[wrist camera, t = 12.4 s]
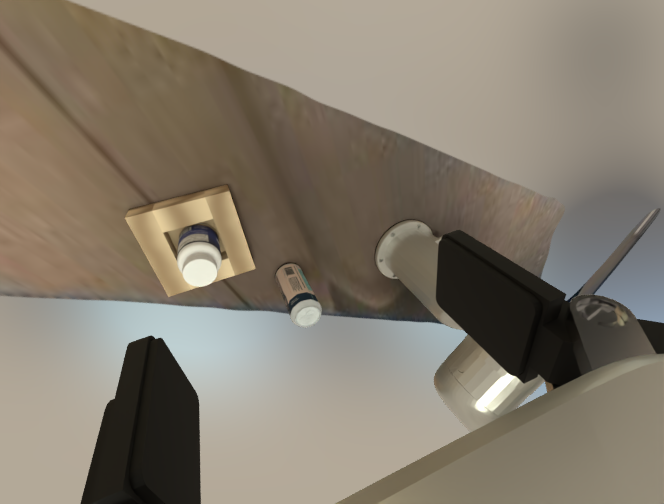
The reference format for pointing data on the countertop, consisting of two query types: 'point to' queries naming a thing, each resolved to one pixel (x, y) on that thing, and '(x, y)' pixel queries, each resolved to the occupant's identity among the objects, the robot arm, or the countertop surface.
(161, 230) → the socket block
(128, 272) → the countertop surface
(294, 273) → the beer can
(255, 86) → the countertop surface
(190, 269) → the pill bottle
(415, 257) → the robot arm
